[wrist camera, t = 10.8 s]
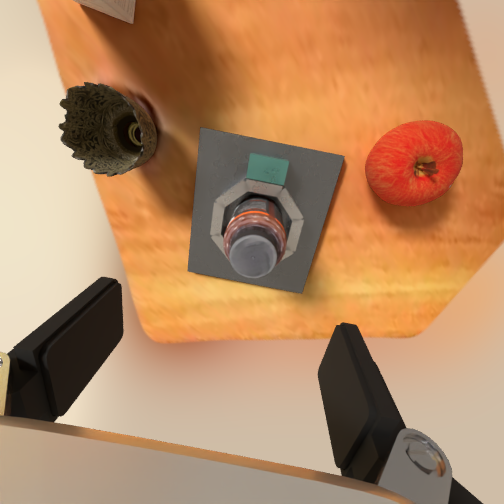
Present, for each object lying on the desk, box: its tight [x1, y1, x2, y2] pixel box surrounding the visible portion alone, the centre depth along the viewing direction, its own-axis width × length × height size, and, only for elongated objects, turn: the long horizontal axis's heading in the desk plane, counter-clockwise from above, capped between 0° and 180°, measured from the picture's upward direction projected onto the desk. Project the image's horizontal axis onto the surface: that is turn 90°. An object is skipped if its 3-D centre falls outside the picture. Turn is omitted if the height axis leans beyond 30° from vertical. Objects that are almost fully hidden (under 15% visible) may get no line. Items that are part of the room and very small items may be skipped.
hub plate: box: [188, 127, 345, 294], centre depth 30 cm, size 18×16×4 cm
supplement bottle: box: [223, 196, 287, 278], centre depth 26 cm, size 6×6×11 cm
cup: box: [59, 82, 157, 176], centre depth 26 cm, size 8×7×8 cm
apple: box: [365, 121, 463, 206], centre depth 25 cm, size 8×8×8 cm
